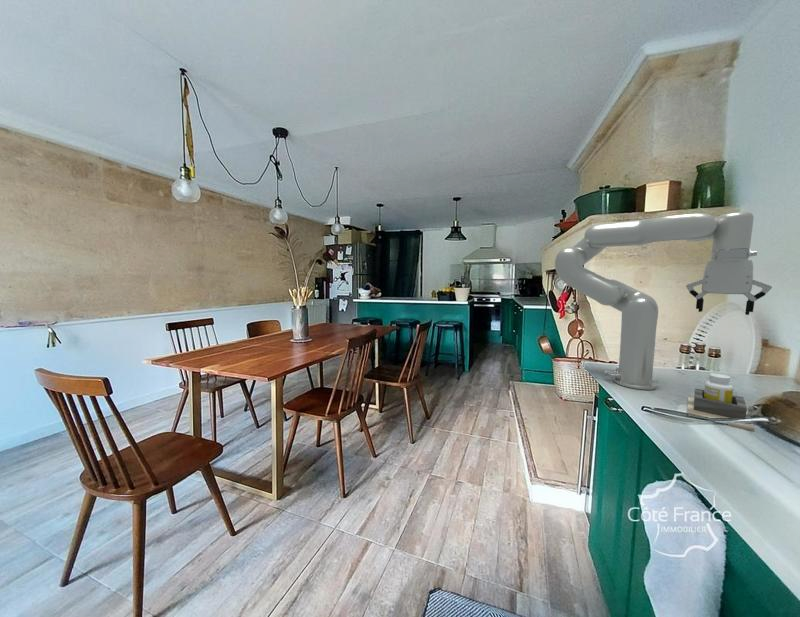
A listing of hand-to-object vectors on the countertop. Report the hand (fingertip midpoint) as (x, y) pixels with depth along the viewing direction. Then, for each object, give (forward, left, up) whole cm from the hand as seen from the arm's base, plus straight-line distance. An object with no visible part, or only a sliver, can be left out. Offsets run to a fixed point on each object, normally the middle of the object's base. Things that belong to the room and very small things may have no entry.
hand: (722, 312), depth 90 cm
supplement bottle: (-6, -12, -26) cm, 30 cm away
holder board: (-6, -12, -27) cm, 30 cm away
